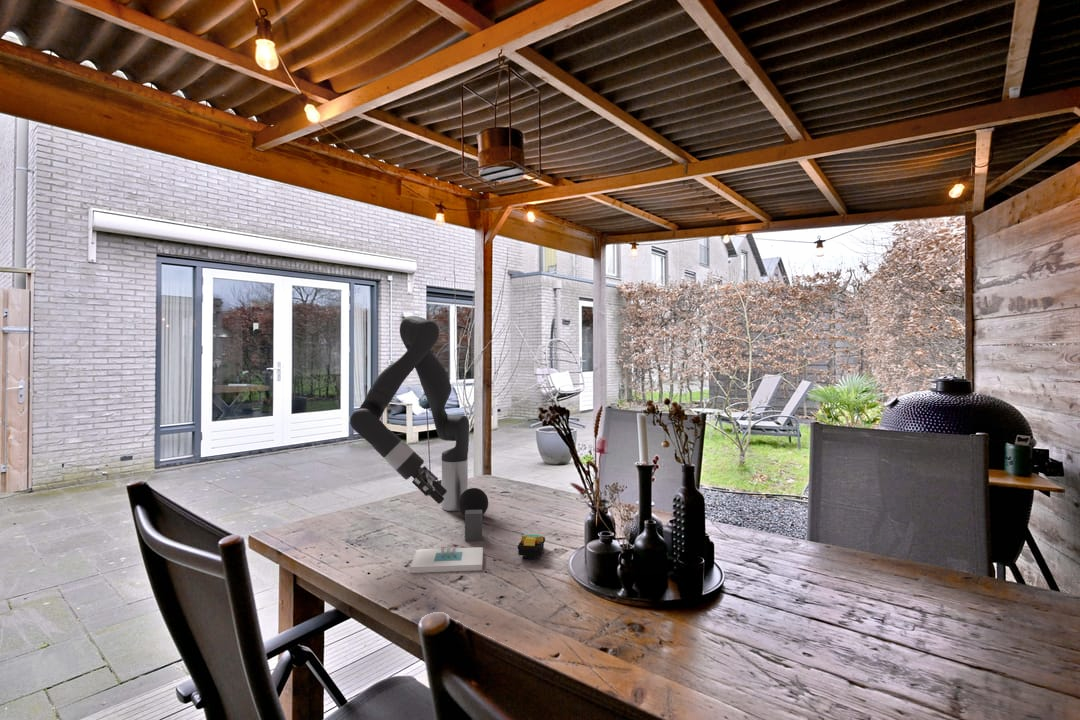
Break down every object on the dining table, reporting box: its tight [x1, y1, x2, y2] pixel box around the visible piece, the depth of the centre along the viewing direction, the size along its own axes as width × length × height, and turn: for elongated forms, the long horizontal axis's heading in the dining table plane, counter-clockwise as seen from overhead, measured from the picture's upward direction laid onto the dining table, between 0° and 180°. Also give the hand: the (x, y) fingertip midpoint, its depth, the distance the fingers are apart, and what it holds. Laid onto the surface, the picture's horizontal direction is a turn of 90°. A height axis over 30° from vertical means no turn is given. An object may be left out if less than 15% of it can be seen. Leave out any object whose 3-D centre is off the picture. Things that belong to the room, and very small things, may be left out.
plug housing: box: [464, 510, 483, 542], centre depth 158 cm, size 5×4×8 cm
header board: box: [409, 546, 484, 574], centre depth 140 cm, size 18×12×4 cm, turn 95°
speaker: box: [458, 487, 489, 517], centre depth 178 cm, size 10×10×10 cm
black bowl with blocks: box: [516, 532, 546, 560], centre depth 146 cm, size 6×13×6 cm, turn 173°
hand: (443, 497), depth 157 cm, fingers open, 8 cm apart
